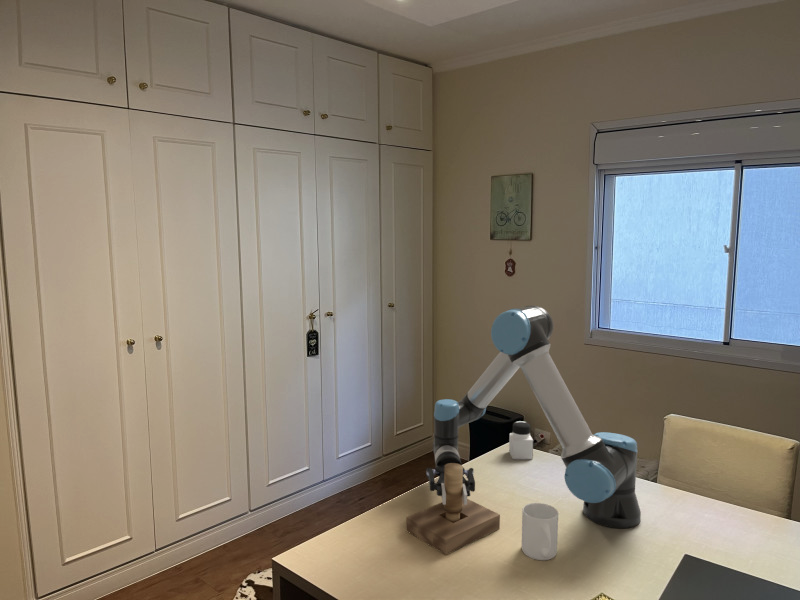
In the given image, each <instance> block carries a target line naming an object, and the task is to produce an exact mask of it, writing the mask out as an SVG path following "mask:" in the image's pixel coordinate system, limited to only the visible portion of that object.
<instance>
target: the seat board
mask: <svg viewBox="0 0 800 600" xmlns="http://www.w3.org/2000/svg"><path fill="white" fill-rule="evenodd" d="M500 525H501V514H500V513H497V512H496V511H494V510H491V509H489V508H487V507H485V506H483V505H481V504H479V503H477V502H474V500H473V501H472V500H471V499H469V498H467V505H464V502H463V497H462V512H461V513H460V520H459V521H457V522H455V523H452V522H450V521H449V520H447V519H446V512H445V511H444V505H443V502H440V503H437V504H434V505H432V506H429V507H427V508H424V509H422V510H420V511H417V512H414V513H412V514H410V515H407V516H406V526H405V528H406V530H407V531H408V532H407V531H406V532H407V533H409V532H410V533H409V534H411V535H412V534H413V535H412V536H414V537H415V536H416V537H415V538H417V537H418V538H417V539H419V540H421V541H422V542H423V543H425V544H426V545H428V544H429V546H430V547H432V548H433V549H435V550H437V551H438V552H440V553H442V554H444V555H445V556H446V555H449V554H451V553H454V552H455V551H457V550H459V549H461V548H463V547H466V546H467V545H469V544H472V543H473V542H475V541H477V540H480V539H482V538H484V537H486V536H487V535H490V534H492V533H494V532H497V531H498V530H500V529H501V528H500V527H501V526H500Z"/></svg>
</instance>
